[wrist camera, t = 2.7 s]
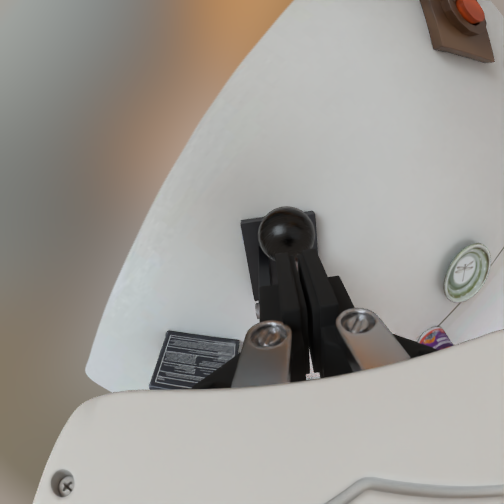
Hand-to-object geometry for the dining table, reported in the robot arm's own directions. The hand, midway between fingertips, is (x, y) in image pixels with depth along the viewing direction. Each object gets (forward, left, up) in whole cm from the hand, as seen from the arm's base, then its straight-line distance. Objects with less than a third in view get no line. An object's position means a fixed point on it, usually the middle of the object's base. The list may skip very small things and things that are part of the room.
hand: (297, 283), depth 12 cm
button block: (-7, +34, -20) cm, 40 cm away
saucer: (+25, +17, -20) cm, 37 cm away
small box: (+13, -22, -20) cm, 33 cm away
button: (-7, +34, -16) cm, 38 cm away
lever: (+3, -1, -9) cm, 9 cm away
